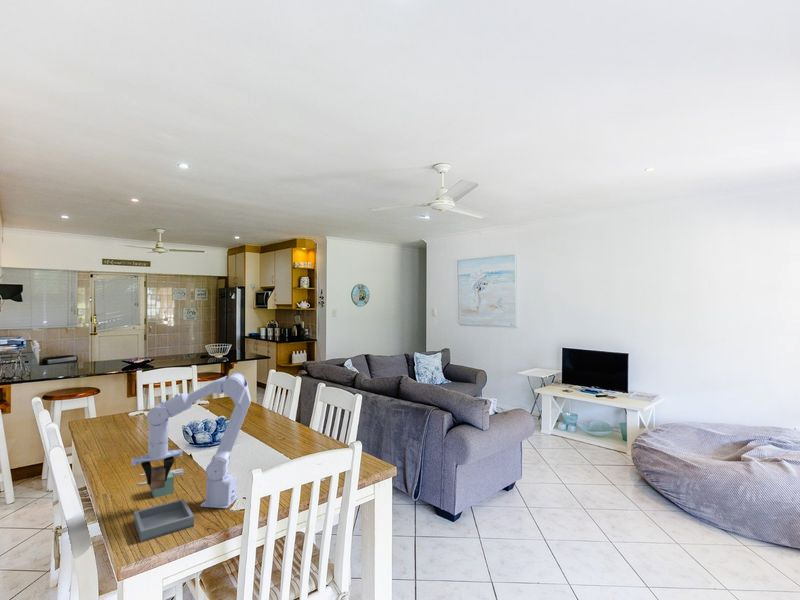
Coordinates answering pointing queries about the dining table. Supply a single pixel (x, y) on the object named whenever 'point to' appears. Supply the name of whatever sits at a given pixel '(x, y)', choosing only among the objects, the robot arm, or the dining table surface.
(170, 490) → the green block
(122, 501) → the dining table surface
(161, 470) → the walnut block
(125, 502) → the dining table surface
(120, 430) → the dining table surface
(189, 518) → the tray
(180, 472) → the pliers
